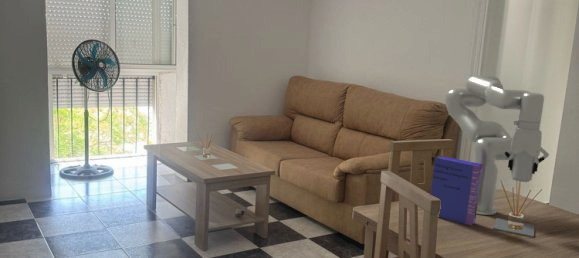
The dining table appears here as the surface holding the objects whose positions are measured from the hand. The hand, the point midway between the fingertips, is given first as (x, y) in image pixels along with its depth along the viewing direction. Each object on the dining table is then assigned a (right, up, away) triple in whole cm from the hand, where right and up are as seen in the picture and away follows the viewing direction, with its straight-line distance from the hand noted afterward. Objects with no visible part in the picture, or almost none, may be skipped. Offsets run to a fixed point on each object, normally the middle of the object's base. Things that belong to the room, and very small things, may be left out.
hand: (522, 171), depth 195 cm
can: (0, -4, +1) cm, 4 cm away
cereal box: (-24, -20, +10) cm, 33 cm away
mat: (-1, -22, +4) cm, 23 cm away
